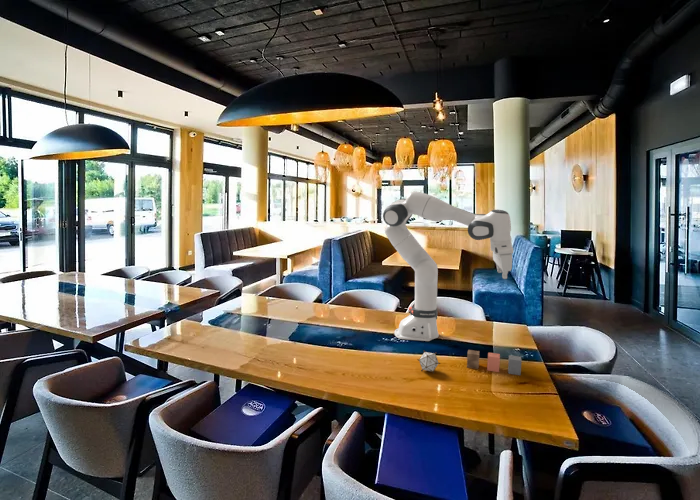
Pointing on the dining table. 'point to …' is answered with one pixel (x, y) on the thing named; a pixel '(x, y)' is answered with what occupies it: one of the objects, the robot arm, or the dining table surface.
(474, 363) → the walnut block
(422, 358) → the game die
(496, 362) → the red block
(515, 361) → the grey block
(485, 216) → the robot arm
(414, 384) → the dining table surface
